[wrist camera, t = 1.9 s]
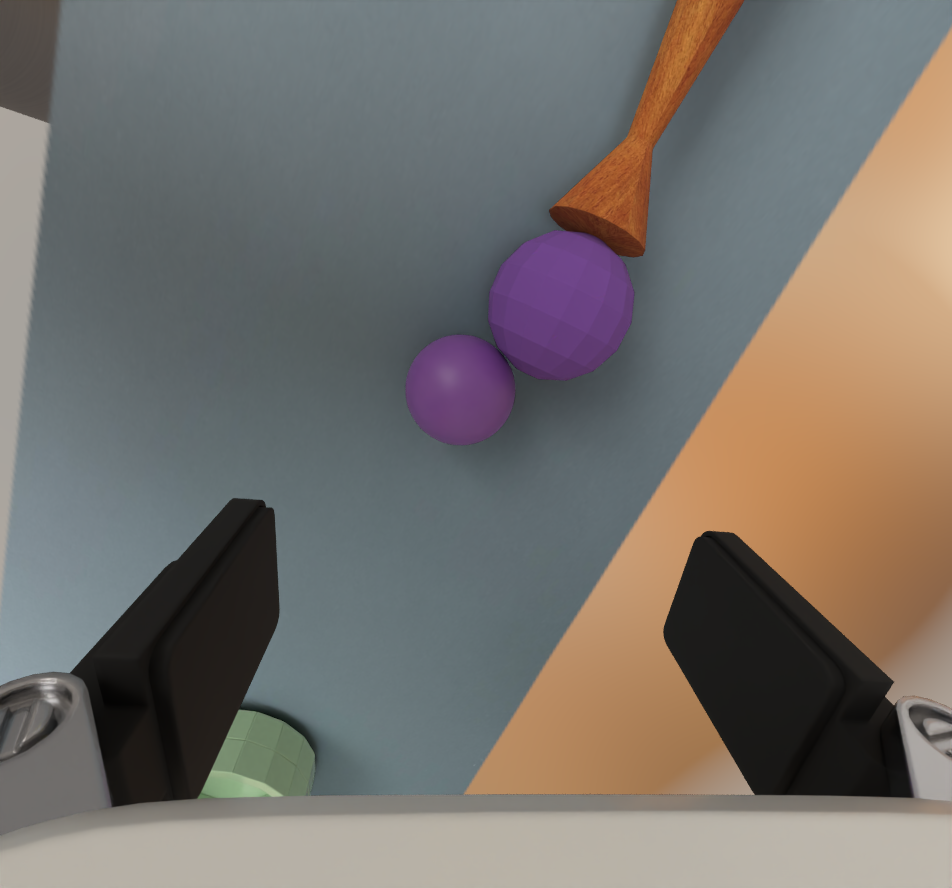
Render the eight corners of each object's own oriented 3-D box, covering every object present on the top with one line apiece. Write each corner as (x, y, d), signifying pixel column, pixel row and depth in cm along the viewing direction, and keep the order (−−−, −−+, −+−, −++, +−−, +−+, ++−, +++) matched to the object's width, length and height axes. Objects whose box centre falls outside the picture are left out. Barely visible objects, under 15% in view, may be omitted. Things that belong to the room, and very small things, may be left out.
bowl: (164, 805, 34) (126, 882, 29) (139, 698, 29) (90, 770, 25) (318, 802, 35) (302, 876, 31) (316, 699, 31) (297, 768, 27)
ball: (405, 419, 23) (398, 458, 19) (411, 321, 22) (405, 339, 17) (499, 427, 24) (514, 467, 19) (513, 332, 22) (533, 352, 18)
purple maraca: (943, -177, 13) (615, 417, 18) (772, -57, 19) (552, 380, 24) (836, -384, 11) (491, 363, 16) (674, -180, 16) (451, 335, 21)
